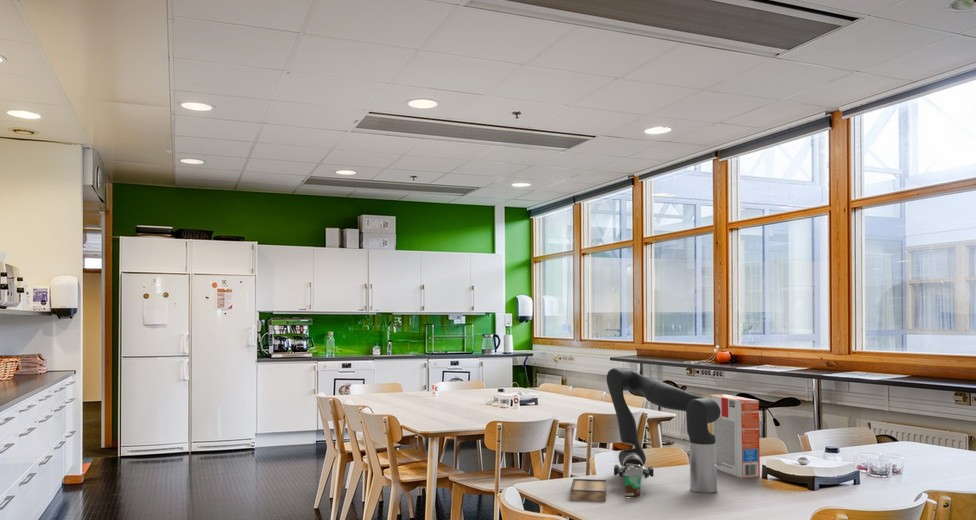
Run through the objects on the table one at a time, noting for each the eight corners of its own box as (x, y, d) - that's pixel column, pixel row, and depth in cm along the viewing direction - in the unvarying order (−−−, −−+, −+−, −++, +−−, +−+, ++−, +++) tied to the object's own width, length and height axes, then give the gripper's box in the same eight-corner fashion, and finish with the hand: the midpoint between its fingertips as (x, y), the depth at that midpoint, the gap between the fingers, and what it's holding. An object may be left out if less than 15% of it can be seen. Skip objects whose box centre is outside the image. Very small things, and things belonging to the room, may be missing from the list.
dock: (606, 489, 284) (606, 479, 285) (605, 501, 267) (605, 491, 267) (573, 488, 286) (573, 478, 287) (570, 499, 269) (570, 489, 269)
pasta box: (760, 476, 307) (758, 400, 309) (742, 478, 305) (741, 401, 307) (726, 465, 329) (725, 394, 331) (709, 466, 327) (708, 394, 329)
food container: (643, 499, 269) (642, 470, 270) (625, 498, 270) (625, 469, 271) (643, 491, 281) (643, 463, 282) (626, 490, 283) (625, 462, 283)
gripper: (613, 455, 296) (613, 463, 280) (652, 456, 294) (654, 465, 278) (614, 475, 296) (613, 484, 280) (652, 476, 293) (654, 486, 277)
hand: (634, 474), depth 279 cm, fingers open, 8 cm apart
